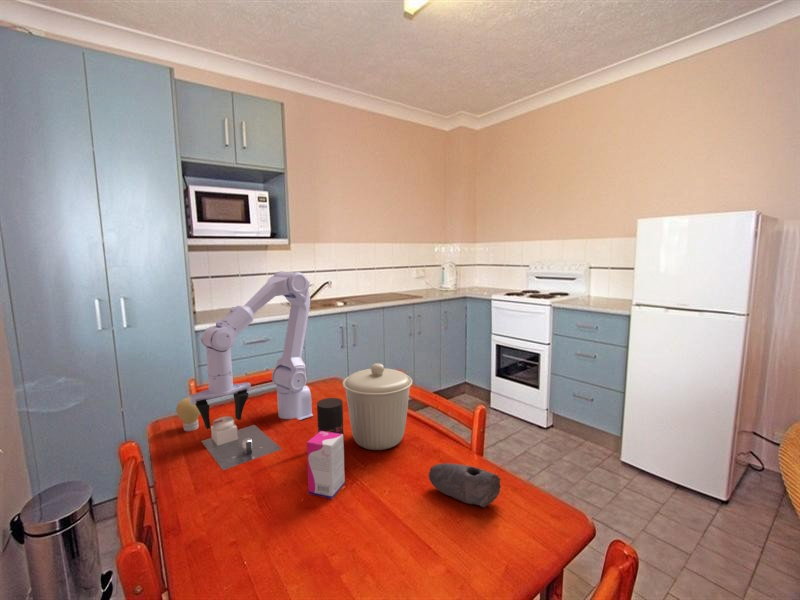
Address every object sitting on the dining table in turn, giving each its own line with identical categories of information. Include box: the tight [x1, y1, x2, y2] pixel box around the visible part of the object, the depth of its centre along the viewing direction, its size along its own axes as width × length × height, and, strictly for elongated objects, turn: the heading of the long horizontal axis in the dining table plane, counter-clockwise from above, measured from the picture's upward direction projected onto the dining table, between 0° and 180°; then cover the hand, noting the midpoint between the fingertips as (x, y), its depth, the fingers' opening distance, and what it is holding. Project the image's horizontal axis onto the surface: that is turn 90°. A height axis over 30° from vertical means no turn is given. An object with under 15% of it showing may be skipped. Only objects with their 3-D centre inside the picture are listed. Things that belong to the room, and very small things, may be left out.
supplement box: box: [306, 431, 346, 500], centre depth 82 cm, size 6×6×12 cm
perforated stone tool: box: [428, 462, 502, 508], centre depth 79 cm, size 15×5×7 cm, turn 58°
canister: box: [342, 362, 413, 451], centre depth 101 cm, size 18×18×21 cm
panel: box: [200, 424, 282, 471], centre depth 98 cm, size 14×18×4 cm
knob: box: [210, 416, 238, 445], centre depth 101 cm, size 5×5×5 cm
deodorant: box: [316, 397, 345, 445], centre depth 91 cm, size 6×6×15 cm
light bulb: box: [175, 396, 201, 432], centre depth 108 cm, size 6×6×10 cm
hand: (223, 423), depth 101 cm, fingers open, 7 cm apart
